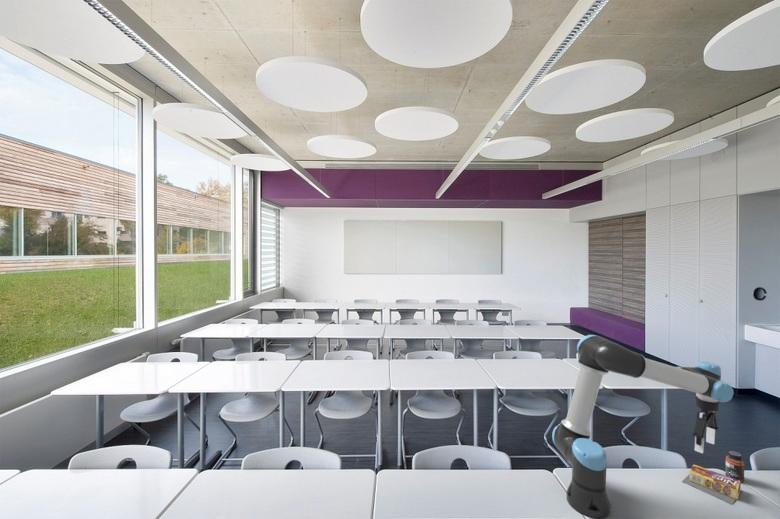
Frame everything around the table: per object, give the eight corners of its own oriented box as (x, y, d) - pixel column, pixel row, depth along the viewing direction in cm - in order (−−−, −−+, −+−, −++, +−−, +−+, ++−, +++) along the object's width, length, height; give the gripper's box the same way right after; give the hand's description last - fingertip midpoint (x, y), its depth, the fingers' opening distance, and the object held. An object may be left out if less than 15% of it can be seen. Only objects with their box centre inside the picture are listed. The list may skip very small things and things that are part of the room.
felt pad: (681, 481, 152) (681, 481, 152) (693, 471, 160) (693, 470, 160) (731, 504, 139) (731, 503, 139) (742, 491, 146) (742, 491, 146)
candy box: (689, 481, 152) (738, 500, 141) (689, 471, 152) (738, 489, 140) (693, 473, 158) (740, 490, 146) (693, 463, 158) (740, 480, 146)
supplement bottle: (741, 477, 156) (742, 452, 155) (745, 484, 151) (747, 459, 150) (723, 472, 159) (724, 448, 159) (727, 479, 154) (728, 454, 154)
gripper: (706, 390, 160) (703, 435, 161) (685, 401, 147) (682, 451, 147) (728, 396, 154) (725, 443, 154) (708, 408, 140) (705, 460, 141)
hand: (704, 447), depth 151 cm, fingers open, 13 cm apart
